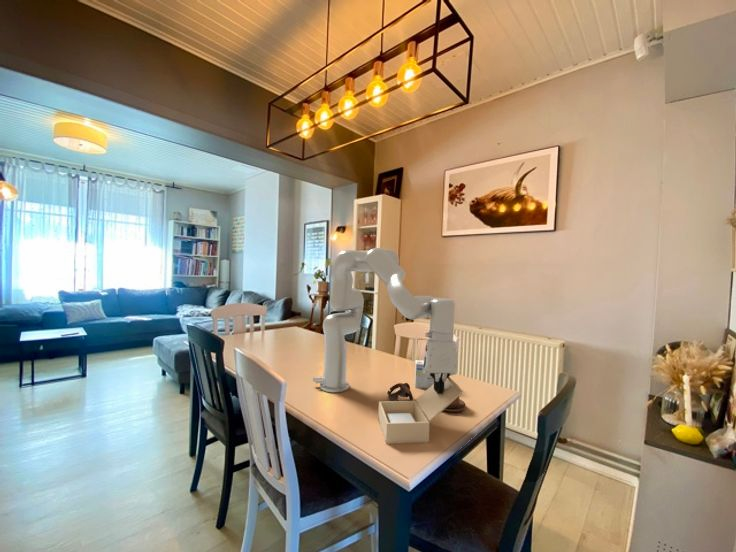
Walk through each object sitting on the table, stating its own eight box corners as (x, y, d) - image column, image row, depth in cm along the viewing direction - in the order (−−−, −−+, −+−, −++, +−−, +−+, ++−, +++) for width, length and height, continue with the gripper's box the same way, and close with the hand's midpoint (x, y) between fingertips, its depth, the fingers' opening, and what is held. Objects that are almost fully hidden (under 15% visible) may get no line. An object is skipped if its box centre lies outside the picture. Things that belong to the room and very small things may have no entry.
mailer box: (386, 443, 91) (386, 423, 90) (378, 418, 105) (378, 401, 105) (428, 442, 92) (429, 422, 92) (415, 417, 107) (415, 400, 107)
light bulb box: (437, 384, 140) (438, 360, 139) (439, 389, 133) (440, 365, 133) (414, 382, 141) (415, 359, 141) (414, 388, 134) (415, 363, 134)
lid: (458, 385, 93) (463, 392, 93) (441, 369, 107) (445, 375, 108) (425, 415, 92) (430, 422, 92) (412, 395, 106) (417, 400, 107)
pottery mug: (412, 411, 113) (402, 392, 112) (391, 416, 117) (381, 398, 117) (420, 392, 123) (410, 374, 123) (400, 397, 128) (391, 380, 127)
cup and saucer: (461, 417, 109) (462, 400, 108) (428, 409, 114) (429, 393, 114) (468, 405, 119) (468, 389, 119) (437, 398, 125) (438, 383, 125)
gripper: (422, 339, 95) (419, 397, 95) (468, 339, 97) (465, 397, 97) (415, 333, 102) (413, 388, 103) (458, 334, 104) (455, 387, 105)
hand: (438, 392), depth 100 cm, fingers closed
